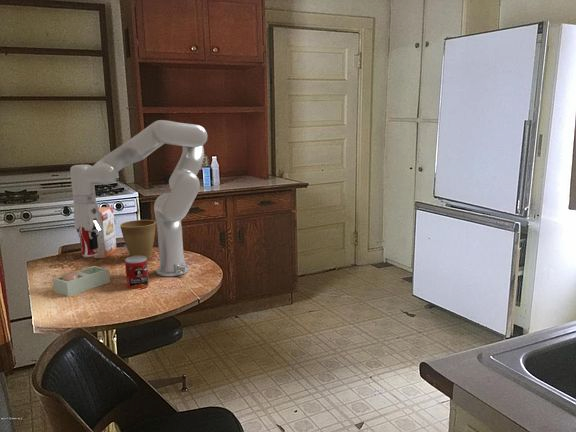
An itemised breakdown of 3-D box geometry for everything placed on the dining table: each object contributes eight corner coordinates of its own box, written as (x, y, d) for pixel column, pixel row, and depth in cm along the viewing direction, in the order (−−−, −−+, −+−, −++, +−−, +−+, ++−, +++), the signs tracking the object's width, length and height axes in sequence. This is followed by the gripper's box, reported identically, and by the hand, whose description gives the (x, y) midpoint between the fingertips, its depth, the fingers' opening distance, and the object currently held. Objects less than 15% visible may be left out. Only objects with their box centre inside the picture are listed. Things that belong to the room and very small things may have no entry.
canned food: (129, 292, 179) (126, 262, 177) (125, 285, 186) (123, 257, 184) (151, 288, 183) (148, 259, 180) (146, 281, 190) (144, 254, 187)
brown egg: (82, 289, 180) (80, 273, 179) (69, 294, 176) (67, 277, 175) (73, 287, 183) (72, 271, 182) (60, 291, 179) (58, 275, 178)
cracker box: (106, 258, 220) (102, 212, 216) (93, 259, 220) (88, 212, 216) (117, 250, 234) (113, 206, 230) (105, 250, 234) (100, 206, 230)
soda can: (92, 257, 182) (88, 225, 179) (79, 256, 183) (75, 224, 180) (100, 253, 187) (96, 221, 184) (87, 252, 188) (84, 221, 185)
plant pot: (165, 255, 224) (162, 220, 220) (143, 265, 210) (140, 228, 207) (138, 252, 230) (135, 218, 226) (115, 261, 216) (112, 225, 213)
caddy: (110, 284, 188) (108, 269, 187) (68, 298, 174) (66, 282, 173) (96, 280, 193) (94, 265, 192) (54, 293, 179) (52, 278, 178)
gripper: (108, 199, 179) (112, 248, 182) (79, 195, 188) (84, 242, 192) (89, 202, 173) (94, 253, 176) (61, 198, 182) (66, 247, 186)
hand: (89, 247), depth 184 cm, fingers closed on soda can, 4 cm apart
